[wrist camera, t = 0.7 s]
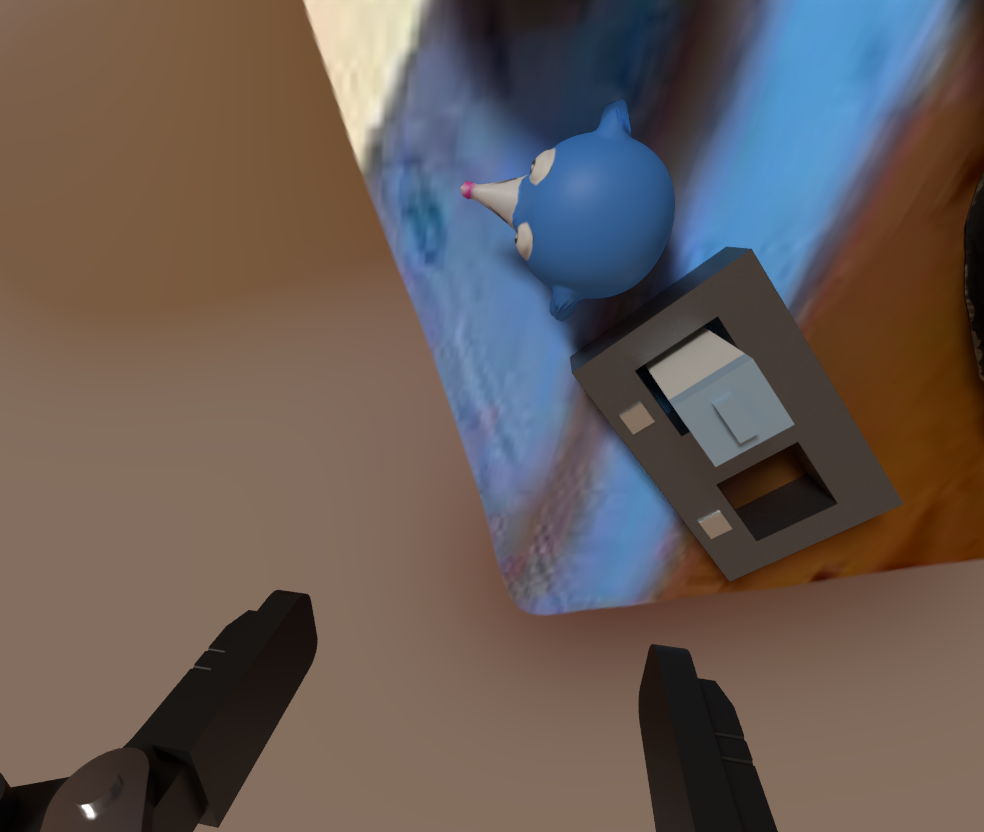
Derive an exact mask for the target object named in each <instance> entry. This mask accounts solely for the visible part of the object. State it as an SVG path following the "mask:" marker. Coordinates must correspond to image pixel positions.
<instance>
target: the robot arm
mask: <svg viewBox="0 0 984 832" xmlns="http://www.w3.org/2000/svg"><path fill="white" fill-rule="evenodd" d="M316 649H317V633H316V627H315V621H314V616H313V610H312V604H311V599H310V596H309V595H308V594H304V593H297V592H290V591H283V590H276V591H274V592H273V593H272V594H271V595H270V596H269V597H268V598H267V599H266V601H265V602H264V603H263V604H262V606H261V607H260V608H259V609H258V611H251V610H248V611H247V612H245V613H244V614H243V615H241V616H240V617H238V618H237V619H236V620H234V621H233V622H232V623H230V624H229V625H227V626H226V627H225V628H224V630H223V631H222V632H221V633H220V634H219V636H218V637H217V638H216V639H215V641H213V643H212V644H211V645H210V646H209V649H208V651H205V652H204V653H203V655H202V656H201V657H200V658H199V659H198V661H197V662H196V663H195V665H194V668H193V669H190V670H189V671H188V672H187V674H186V675H185V676H184V677H183V678H182V680H181V681H180V682H179V683H178V684H177V686H176V687H175V688H174V689H173V690H172V692H171V693H170V694H169V695H168V696H167V698H166V699H165V700H164V701H163V702H162V703H161V705H160V706H159V707H158V708H157V709H156V711H155V712H154V713H153V714H152V715H151V717H150V718H149V719H148V720H147V721H146V723H145V724H144V725H143V726H142V727H141V728H140V730H139V731H138V732H137V733H136V734H135V736H134V737H133V738H132V739H131V740H130V741H129V742H128V743H127V744H126V745H125V746H124V747H123V748H119V749H115V750H112V751H109V752H106V753H104V754H102V755H100V756H98V757H96V758H94V759H93V760H91V761H89V762H88V763H86V764H85V765H83V766H82V767H81V768H80V769H78V770H77V771H76V772H75V773H74V774H73V775H71V776H70V777H66V778H61V779H55V780H50V781H45V782H39V783H34V784H28V785H22V786H17V787H10V786H9V784H8V783H7V781H6V780H5V778H4V777H3V775H2V774H1V773H0V832H193V831H194V829H195V827H196V826H197V824H198V823H199V824H204V825H208V826H213V827H217V828H218V827H219V826H220V824H221V822H222V820H223V819H224V817H225V815H226V813H227V812H228V810H229V808H230V806H231V805H232V803H233V801H234V799H235V798H236V796H237V794H238V792H239V791H240V789H241V787H242V785H243V784H244V782H245V780H246V778H247V777H248V775H249V773H250V771H251V770H252V768H253V766H254V765H255V763H256V761H257V759H258V758H259V756H260V754H261V752H262V751H263V749H264V747H265V745H266V744H267V742H268V740H269V738H270V737H271V735H272V733H273V731H274V730H275V728H276V726H277V724H278V723H279V721H280V719H281V717H282V715H283V714H284V712H285V710H286V708H287V707H288V705H289V703H290V702H291V700H292V698H293V696H294V695H295V693H296V691H297V689H298V687H299V686H300V684H301V682H302V681H303V679H304V677H305V675H306V674H307V672H308V670H309V668H310V667H311V665H312V662H313V660H314V657H315V654H316ZM639 720H640V728H641V735H642V741H643V748H644V754H645V760H646V768H647V774H648V781H649V788H650V794H651V801H652V808H653V814H654V821H655V828H656V832H778V831H777V828H776V825H775V823H774V820H773V817H772V814H771V811H770V808H769V805H768V802H767V799H766V797H765V794H764V791H763V788H762V785H761V783H760V780H759V777H758V774H757V771H756V768H755V766H753V763H752V757H751V754H750V751H749V748H748V745H747V742H746V741H745V740H744V734H743V731H742V728H741V725H740V723H739V719H738V717H737V714H736V711H735V708H734V706H733V705H732V703H731V702H730V701H729V699H728V698H727V696H726V695H725V694H724V692H723V691H722V690H721V688H720V687H719V686H718V684H717V683H716V681H712V680H706V679H699V678H697V674H696V671H695V667H694V664H693V661H692V658H691V655H690V652H689V651H688V650H687V649H683V648H675V647H668V646H662V645H655V644H652V645H651V646H650V648H649V651H648V656H647V660H646V664H645V669H644V673H643V677H642V681H641V686H640V691H639Z"/></svg>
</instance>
